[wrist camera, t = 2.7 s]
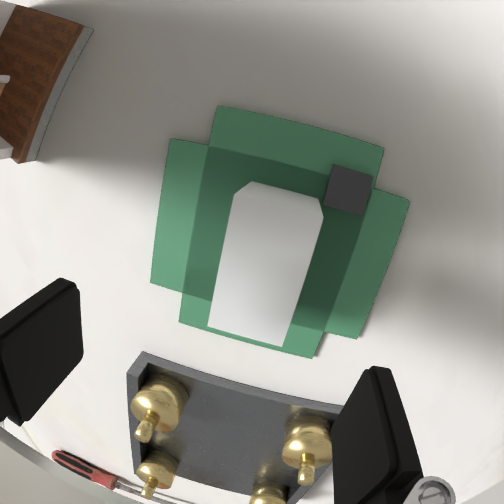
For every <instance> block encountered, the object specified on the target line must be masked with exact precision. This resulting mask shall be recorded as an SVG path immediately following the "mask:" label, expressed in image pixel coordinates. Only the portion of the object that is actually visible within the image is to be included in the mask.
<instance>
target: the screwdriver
mask: <svg viewBox="0 0 504 504" xmlns="http://www.w3.org/2000/svg"><path fill="white" fill-rule="evenodd" d="M52 458H53V460H54V461H55V462H57V463H58V464H59V465H61V466H63V467H65V468H66V469H68V470H70V471H72V472H74V473H76V474H78V475H80V476H82V477H84V478H86V479H88V480H90V481H93V482H97V483H100V484H102V485H103V486H105V487H106V488H108V489H110V490H114V488H118V489H122V490H124V491H127V492H130V493H133V494H135V495H138V496H141V495H140V494H141V492H140V491H137V490H135V489H132V488H130V487H128V486H125V485H123V484H121V483H120V482H117V477H116V476H113V475H108V474H105V473H103V472H101V471H100V470H98V469H97V468H95V467H93V466H91V465H89V464H87V463H86V462H84V461H83V460H81V459H79V458H77V457H75V456H72V455H70V454H67V453H65V452H62V451H59V450H55V451H53V452H52ZM141 497H142V496H141ZM150 500H152V501H155V502H158V503H161V504H176V503H173V502H169V501H166V500H163V499H160V498H157V497H154V496H152V498H151V499H150Z"/></svg>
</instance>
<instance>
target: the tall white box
mask: <svg viewBox="0 0 504 504" xmlns="http://www.w3.org/2000/svg"><path fill="white" fill-rule="evenodd" d="M92 32H93V29H91V28H88V27H86V26H83V25H81V24H78V23H75V22H72V21H69V20H67V19H64V18H61V17H58V16H54V15H51V14H48V13H45V12H41V11H38V10H35V9H31V8H28V7H24V6H20V5H16V4H13V3H9V2H5V1H1V0H0V159H5V158H12V159H13V160H14V161H15V162H16V163H17V164H20V163H25V162H31V161H35V160H36V156H37V153H38V150H39V148H40V145H41V142H42V139H43V136H44V134H45V131H46V128H47V126H48V123H49V120H50V118H51V115H52V113H53V111H54V108H55V106H56V103H57V101H58V99H59V96H60V94H61V92H62V90H63V88H64V85H65V83H66V81H67V79H68V77H69V75H70V73H71V71H72V69H73V67H74V65H75V63H76V61H77V59H78V57H79V55H80V53H81V52H82V50H83V48H84V46H85V44H86V43H87V41H88V39H89V37H90V36H91V34H92Z"/></svg>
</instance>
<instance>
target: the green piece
mask: <svg viewBox="0 0 504 504" xmlns="http://www.w3.org/2000/svg"><path fill="white" fill-rule="evenodd" d="M383 152H384V148H382V147H379V146H376V145H373V144H370V143H367V142H364V141H361V140H358V139H355V138H351V137H348V136H345V135H342V134H338V133H335V132H331V131H328V130H324V129H321V128H317V127H313V126H310V125H306V124H302V123H298V122H294V121H290V120H286V119H281V118H277V117H273V116H268V115H264V114H259V113H254V112H249V111H244V110H239V109H234V108H228V107H223V106H217V109H216V113H215V118H214V122H213V127H212V131H211V136H210V141H209V145H205V144H200V143H194V142H189V141H184V140H178V139H170V144H169V149H168V155H167V160H166V166H165V172H164V178H163V184H162V190H161V197H160V203H159V210H158V218H157V225H156V233H155V241H154V250H153V259H152V269H151V279H150V283H153V284H156V285H159V286H162V287H165V288H168V289H172V290H175V291H178V292H181V293H182V300H181V308H180V315H179V322H180V323H183V324H186V325H189V326H192V327H196V328H199V329H202V330H205V331H209V332H212V333H215V334H219V335H222V336H226V337H229V338H232V339H236V340H240V341H243V342H247V343H250V344H254V345H258V346H261V347H265V348H269V349H273V350H277V351H281V352H285V353H289V354H293V355H297V356H301V357H305V358H310V359H312V358H313V356H314V353H315V351H316V348H317V346H318V344H319V341H320V339H321V336H322V334H323V332H327V333H331V334H336V335H340V336H344V337H349V338H353V339H357V338H358V336H359V334H360V331H361V329H362V327H363V325H364V323H365V320H366V318H367V316H368V314H369V311H370V309H371V307H372V304H373V302H374V300H375V297H376V295H377V292H378V290H379V287H380V285H381V283H382V280H383V277H384V275H385V272H386V270H387V267H388V265H389V262H390V259H391V257H392V254H393V251H394V248H395V246H396V243H397V240H398V237H399V234H400V231H401V228H402V226H403V223H404V220H405V216H406V213H407V210H408V207H409V204H410V201H409V200H407V199H404V198H401V197H398V196H396V195H393V194H390V193H387V192H384V191H381V190H378V189H375V188H374V185H375V181H376V178H377V174H378V170H379V167H380V163H381V159H382V156H383Z"/></svg>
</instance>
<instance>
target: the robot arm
mask: <svg viewBox="0 0 504 504" xmlns="http://www.w3.org/2000/svg"><path fill="white" fill-rule="evenodd" d="M83 353H84V350H83V339H82V327H81V310H80V291H79V289H77V286H76V284H75V283H74V282H71V281H69V280H66V279H64V278H58V279H57V280H55V281H54V282H52V283H51V284H49V285H48V286H46V287H45V288H43V289H42V290H40V291H39V292H37V293H36V294H34V295H33V296H31V297H30V298H29V299H27V300H26V301H24V302H23V303H21V304H20V305H19V306H17V307H16V308H14V309H13V310H12V311H10V312H9V313H8V314H6V315H5V316H3V317H2V318H1V319H0V504H144V503H141V502H138V501H136V500H133V499H131V498H128V497H126V496H123V495H121V494H118V493H116V492H114V491H111V490H109V489H107V488H105V487H102V486H100V485H98V484H96V483H94V482H92V481H90V480H88V479H86V478H84V477H82V476H80V475H78V474H76V473H74V472H72V471H70V470H68V469H66V468H65V467H63V466H61V465H59V464H57V463H56V462H54V461H52V460H50V459H49V458H47V457H45V456H44V455H42V454H40V453H39V452H37V451H36V450H34V449H32V448H31V447H29V446H28V445H26V444H25V443H23V442H22V441H20V440H19V439H17V438H16V437H14V436H13V435H12V434H10V433H9V432H7V431H6V430H5V429H4V420H5V418H6V417H8V419H10V420H11V421H13V422H14V423H15V424H17V425H18V426H21V425H22V424H23V423H24V421H29V420H30V419H31V418H32V417H33V416H34V415H35V413H36V412H37V411H38V410H39V409H40V407H41V406H42V405H43V404H44V403H45V401H46V400H47V399H48V398H49V397H50V396H51V394H52V393H53V392H54V391H55V390H56V389H57V387H58V386H59V385H60V384H61V383H62V382H63V380H64V379H65V378H66V377H67V376H68V375H69V374H70V372H71V371H72V370H73V369H74V368H75V367H76V366H77V365H78V363H79V362H80V361H81V360H82V357H83ZM331 444H332V461H333V482H334V504H455V502H456V499H455V493H454V491H453V489H452V487H451V486H450V484H449V483H447V482H446V481H445V480H443V479H441V478H439V477H434V476H428V477H424V476H423V472H422V468H421V464H420V461H419V457H418V454H417V450H416V447H415V443H414V440H413V436H412V433H411V430H410V426H409V423H408V420H407V417H406V414H405V410H404V407H403V404H402V401H401V398H400V395H399V392H398V389H397V386H396V383H395V381H394V378H393V375H392V372H391V370H390V369H389V368H384V367H378V366H372V367H371V368H370V369H365V370H364V372H363V373H362V375H361V377H360V379H359V381H358V382H357V384H356V386H355V388H354V390H353V391H352V393H351V395H350V397H349V398H348V400H347V402H346V404H345V405H344V407H343V409H342V410H341V412H340V414H339V415H338V417H337V419H336V420H335V422H334V423H333V426H332V429H331Z"/></svg>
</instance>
